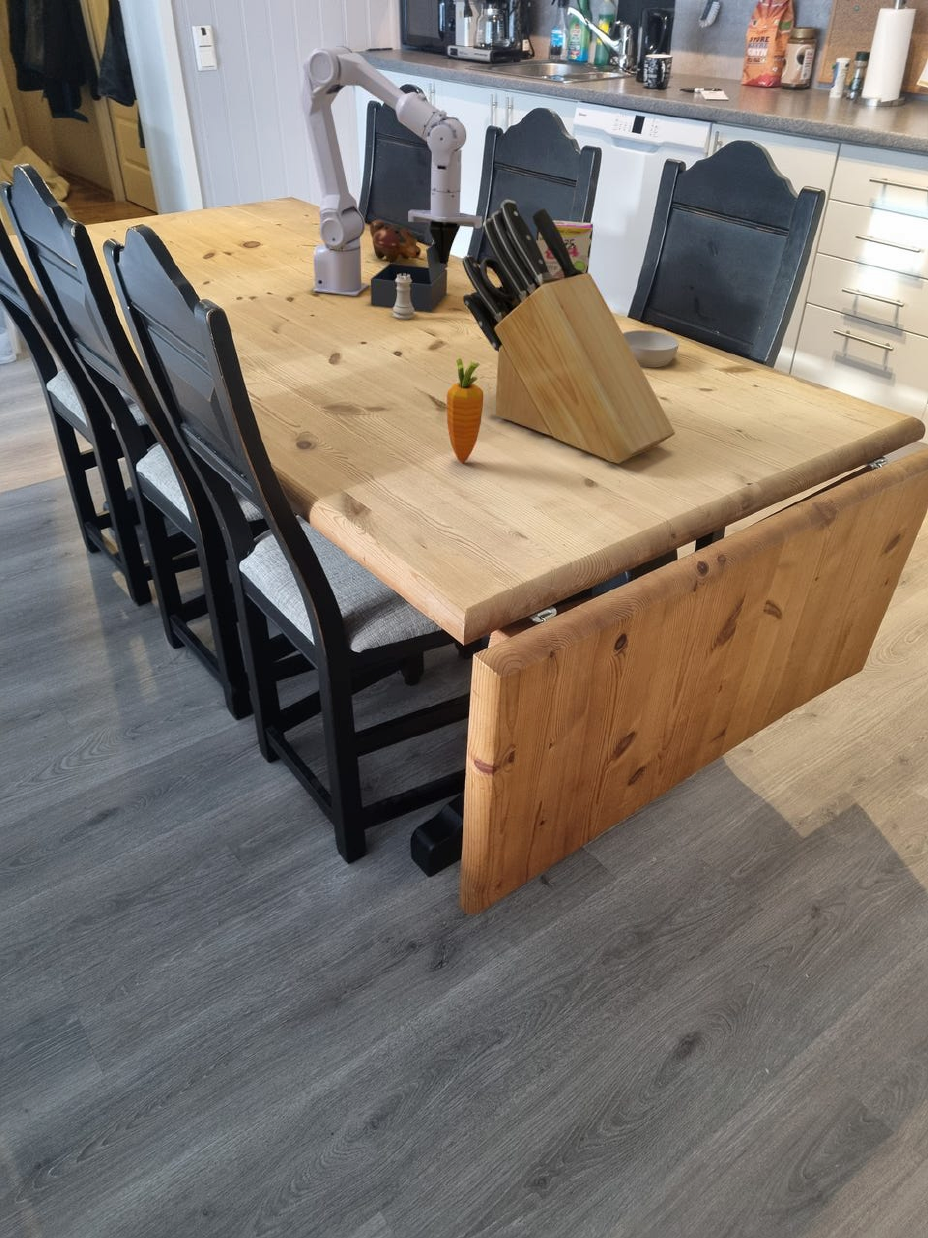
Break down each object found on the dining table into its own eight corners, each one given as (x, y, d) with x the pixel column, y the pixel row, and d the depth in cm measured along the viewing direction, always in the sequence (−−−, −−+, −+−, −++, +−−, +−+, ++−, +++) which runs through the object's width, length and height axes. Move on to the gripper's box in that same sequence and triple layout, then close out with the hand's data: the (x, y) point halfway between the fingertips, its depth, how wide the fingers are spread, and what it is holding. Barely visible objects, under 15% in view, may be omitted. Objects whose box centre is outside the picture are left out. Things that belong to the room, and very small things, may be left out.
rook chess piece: (418, 315, 185) (418, 273, 181) (409, 321, 182) (409, 279, 177) (397, 312, 186) (397, 270, 182) (388, 318, 183) (388, 276, 178)
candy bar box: (530, 308, 192) (536, 223, 182) (531, 300, 196) (537, 218, 186) (584, 311, 191) (593, 227, 182) (584, 304, 195) (593, 221, 186)
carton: (446, 295, 197) (447, 269, 194) (430, 312, 187) (431, 285, 184) (389, 288, 199) (389, 263, 196) (371, 305, 189) (370, 278, 186)
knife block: (498, 383, 157) (510, 184, 139) (673, 451, 137) (714, 230, 119) (451, 400, 150) (457, 193, 132) (628, 473, 131) (664, 243, 113)
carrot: (443, 455, 133) (446, 352, 125) (478, 455, 134) (483, 352, 125) (446, 470, 129) (449, 365, 121) (481, 470, 130) (487, 366, 121)
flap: (446, 266, 194) (447, 266, 194) (430, 282, 184) (431, 281, 184) (442, 235, 190) (444, 234, 190) (425, 249, 180) (427, 249, 180)
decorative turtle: (381, 249, 225) (384, 214, 220) (431, 266, 218) (434, 230, 214) (355, 255, 218) (357, 219, 213) (405, 272, 211) (408, 235, 207)
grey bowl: (667, 373, 164) (670, 352, 161) (570, 355, 169) (573, 334, 167) (682, 355, 172) (685, 334, 169) (589, 338, 178) (592, 318, 175)
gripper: (403, 189, 177) (403, 263, 185) (477, 196, 175) (474, 271, 183) (414, 183, 183) (413, 254, 191) (485, 189, 180) (482, 262, 188)
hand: (443, 262), depth 187 cm, fingers closed
